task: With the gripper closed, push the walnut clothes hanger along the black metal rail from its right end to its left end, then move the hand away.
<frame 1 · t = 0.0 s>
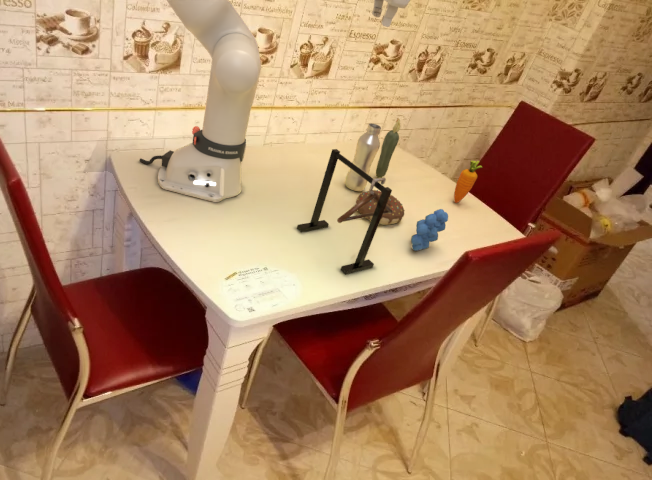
hand: (380, 20, 118), 48 cm above the table, tool pointing down, fingers open, 8 cm apart
grapes: (418, 247, 139), on the table
donut: (375, 214, 148), on the table
carrot: (455, 203, 167), on the table
hanger: (372, 198, 115), point 18 cm above the table, slide at -6.0 cm
vegetable: (376, 179, 168), on the table
rail: (333, 247, 129), on the table
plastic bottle: (353, 189, 158), on the table
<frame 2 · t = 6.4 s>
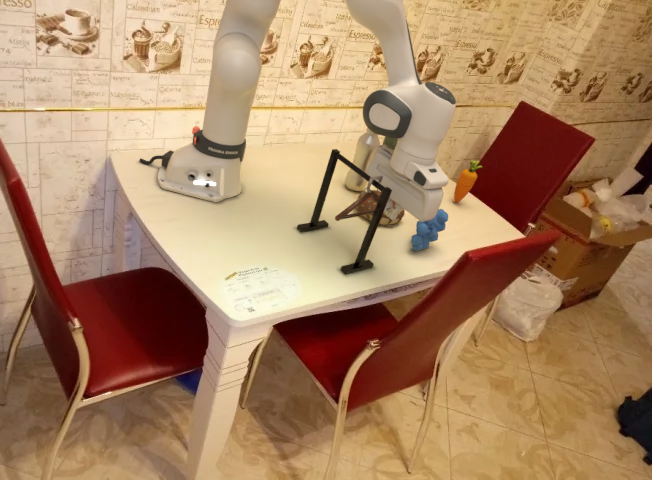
hand: (389, 216, 121), 13 cm above the table, tool pointing down, fingers closed
hanger: (370, 196, 116), point 18 cm above the table, slide at -5.1 cm, touching gripper
everything else where it was.
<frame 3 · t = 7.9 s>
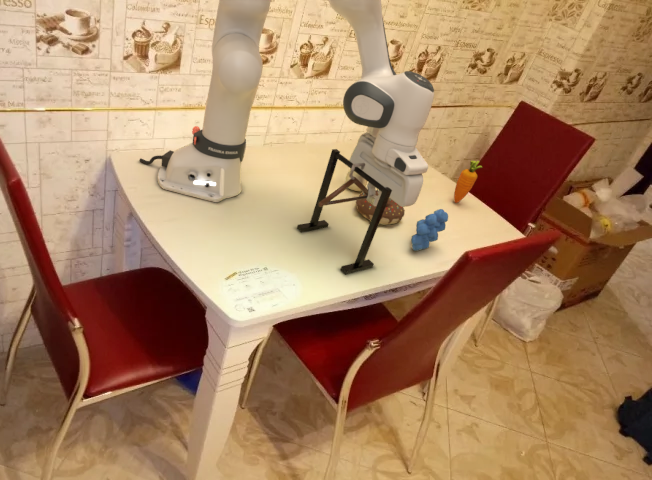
hand: (372, 203, 124), 13 cm above the table, tool pointing down, fingers closed
hanger: (353, 183, 119), point 18 cm above the table, slide at 0.8 cm, touching gripper
everything else where it was.
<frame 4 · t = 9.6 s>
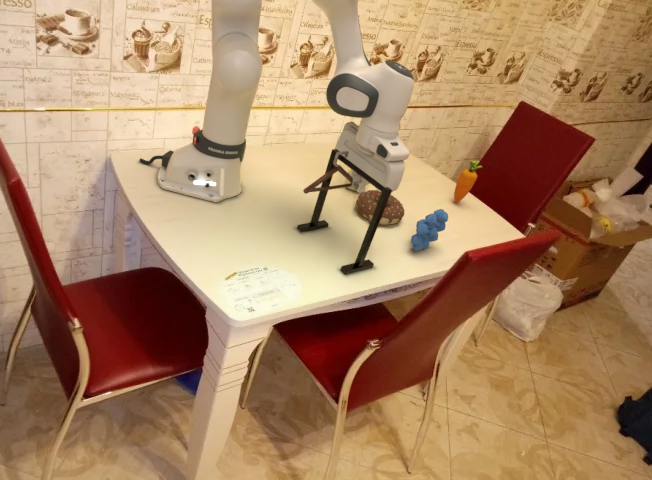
hand: (357, 189, 128), 13 cm above the table, tool pointing down, fingers closed
hanger: (337, 170, 122), point 18 cm above the table, slide at 6.7 cm, touching gripper
everything else where it was.
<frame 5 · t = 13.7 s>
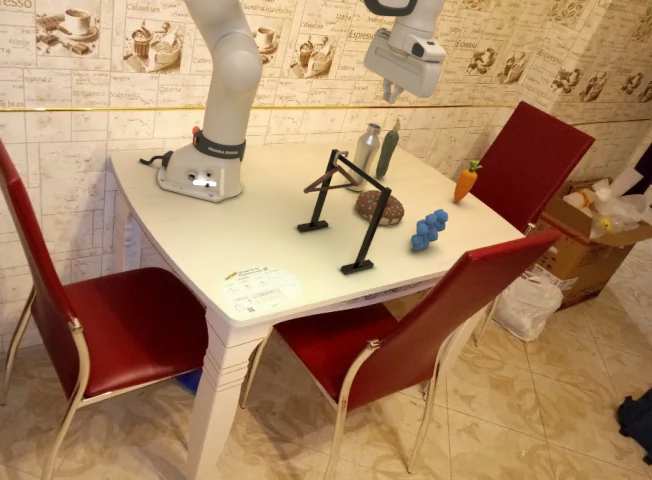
hand: (387, 101, 122), 33 cm above the table, tool pointing down, fingers closed
hanger: (337, 170, 122), point 18 cm above the table, slide at 6.7 cm
everything else where it was.
at the end: hanger slide at 6.7 cm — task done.
